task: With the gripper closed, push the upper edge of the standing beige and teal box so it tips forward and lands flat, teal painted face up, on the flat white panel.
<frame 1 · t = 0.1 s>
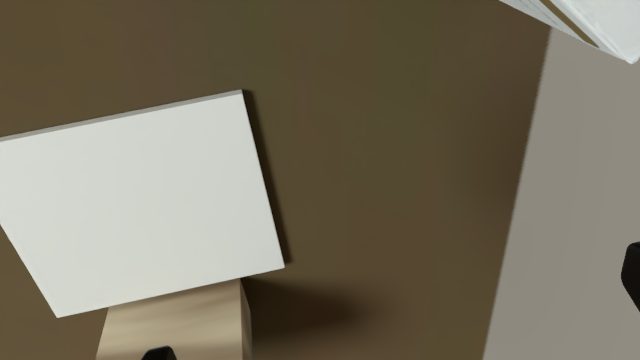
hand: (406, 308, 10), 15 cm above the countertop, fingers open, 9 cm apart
beige and teal box: (181, 306, 28), on the countertop
flat white panel: (142, 210, 25), on the countertop
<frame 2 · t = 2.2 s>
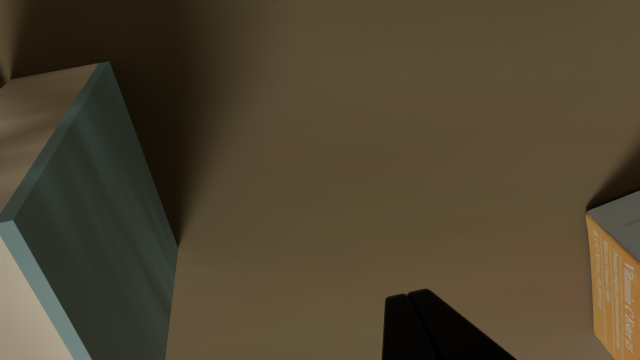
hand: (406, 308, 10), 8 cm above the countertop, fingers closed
beige and teal box: (99, 174, 16), on the countertop
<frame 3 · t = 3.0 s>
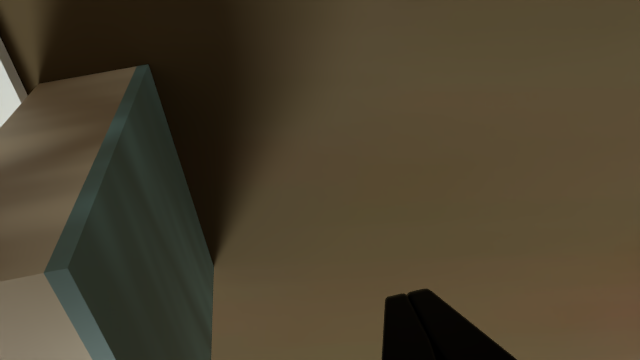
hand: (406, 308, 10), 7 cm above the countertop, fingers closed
beige and teal box: (132, 188, 15), on the countertop
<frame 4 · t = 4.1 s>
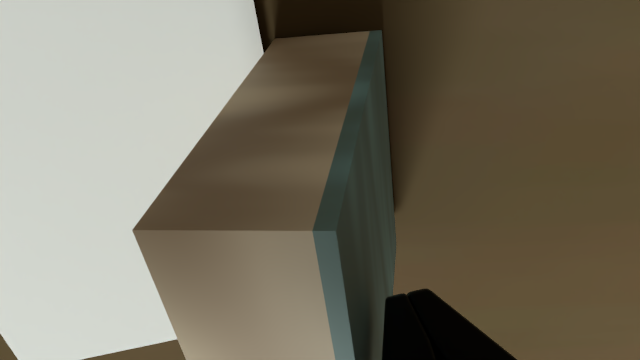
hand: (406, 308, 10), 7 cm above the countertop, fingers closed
beige and teal box: (336, 152, 15), on the countertop, tilted 19°
flat white panel: (115, 189, 15), on the countertop
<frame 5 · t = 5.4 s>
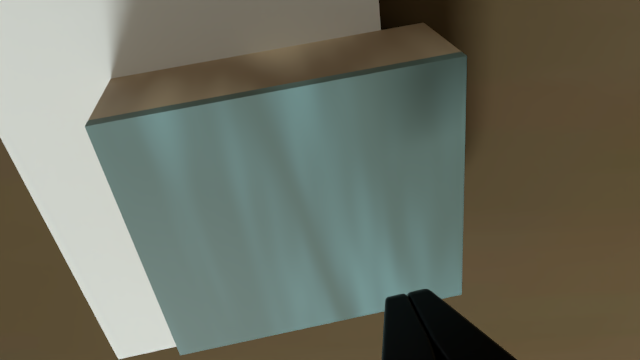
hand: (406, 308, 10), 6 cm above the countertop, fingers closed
beige and teal box: (441, 162, 14), point 2 cm above the countertop, tilted 90°, touching flat white panel
flat white panel: (220, 175, 15), on the countertop
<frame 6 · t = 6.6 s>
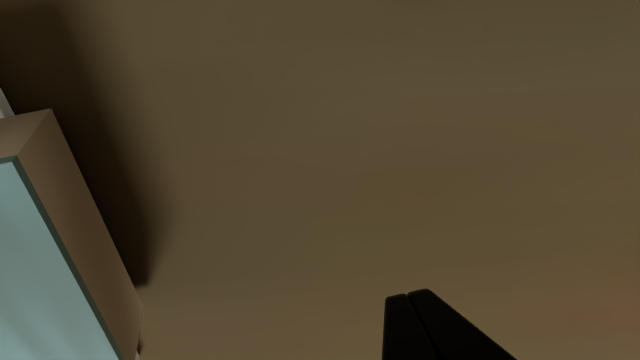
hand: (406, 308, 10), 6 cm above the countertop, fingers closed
beige and teal box: (94, 248, 13), point 2 cm above the countertop, tilted 90°, touching flat white panel
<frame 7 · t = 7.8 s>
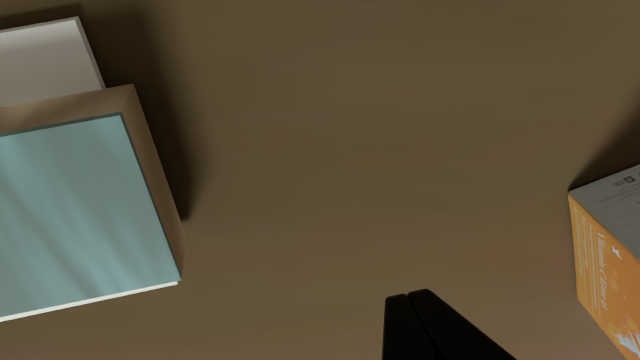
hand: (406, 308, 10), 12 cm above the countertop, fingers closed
beige and teal box: (158, 183, 19), point 2 cm above the countertop, tilted 90°, touching flat white panel
small box: (623, 225, 27), on the countertop
flat white panel: (9, 191, 20), on the countertop
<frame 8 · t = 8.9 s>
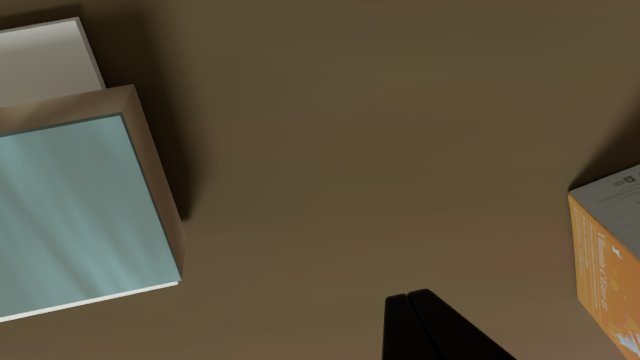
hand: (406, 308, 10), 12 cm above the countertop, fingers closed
beige and teal box: (158, 183, 19), point 2 cm above the countertop, tilted 90°, touching flat white panel
small box: (623, 225, 27), on the countertop
flat white panel: (10, 191, 20), on the countertop
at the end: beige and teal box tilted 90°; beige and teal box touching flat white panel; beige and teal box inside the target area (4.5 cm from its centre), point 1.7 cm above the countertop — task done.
